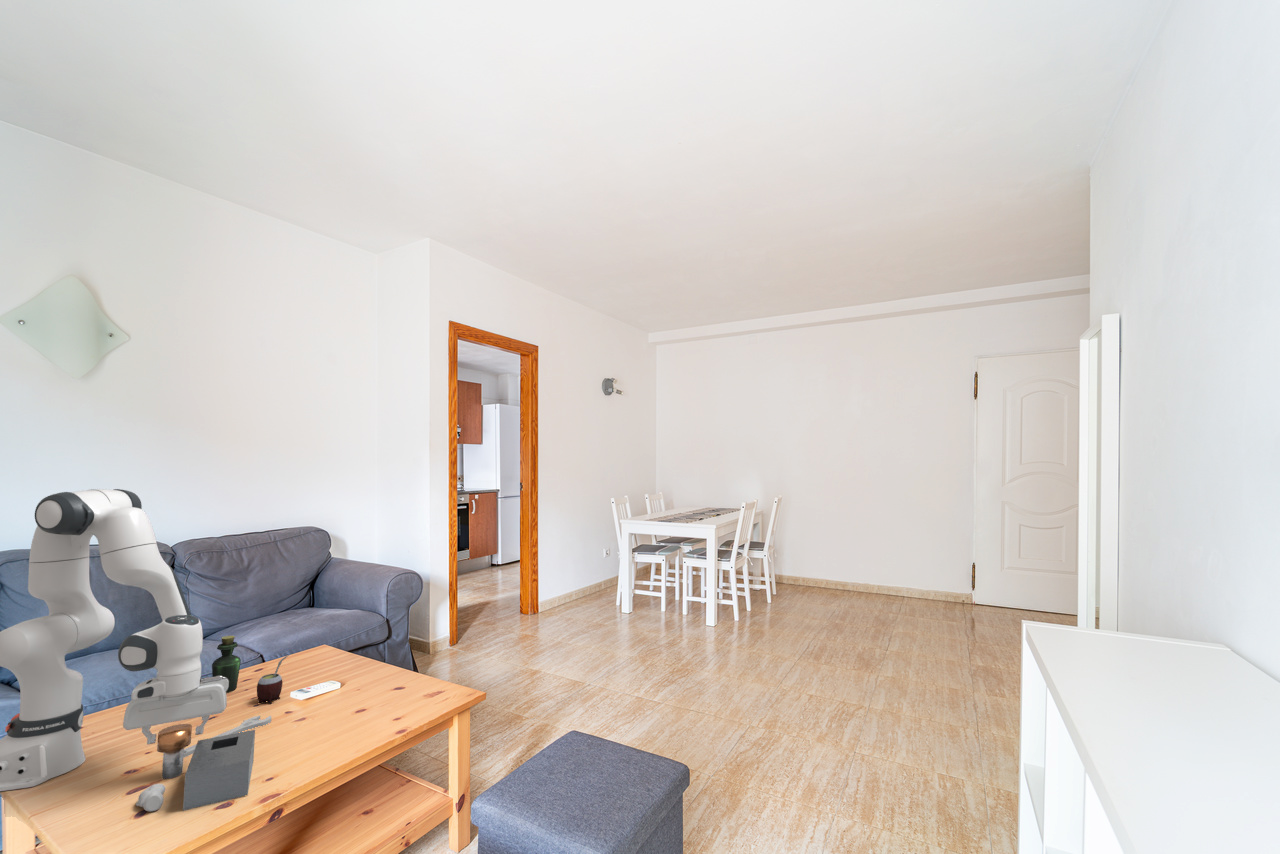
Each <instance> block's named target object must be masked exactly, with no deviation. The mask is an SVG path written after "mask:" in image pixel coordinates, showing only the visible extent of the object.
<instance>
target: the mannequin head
mask: <svg viewBox="0 0 1280 854" xmlns="http://www.w3.org/2000/svg"><path fill="white" fill-rule="evenodd" d="M165 792H166V785H164V784H163V783H154V784H152V785H150V786H148V787H146V788H145V789H144V790H143V791H142V792H140V793H139V795H138V799H137V801H136V803H135V806H137V807H140V808H143V809H144V810H145V811H146V812H151V813H152V812H157V811H158V810H160V809H161V807H162V806H163V805H164V794H165Z"/></svg>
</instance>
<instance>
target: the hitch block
mask: <svg viewBox="0 0 1280 854" xmlns="http://www.w3.org/2000/svg"><path fill="white" fill-rule="evenodd" d="M255 736H256V729H251V730H247V731H244V732H240V733H235V734H230V735H225V736H219V737H215V736H213V737H214V738H212V737H209V738H204V739H200V740H199V739H198V740H197V743H196V744H197V745H196V744H195V745H196V747H195V750H194V752H193V754H191V758H190V761H189V763H188V766H187V768H186V770H185V771H186V772H185V776H184V788H183V804H182V805H183V806H182V811H183V812H184V811H187V810H188V811H189V810H193V809H197V808H200V807H206V806H210V805H214V804H216V803H221V802H226V801H229V800H235V799H238V797H239V798H242V796H243V797H246V796H245V795H247V796H249V788H250V783H251V777H252V772H253V771H252V770H253V766H254V756H255V754H254V753H255V738H256V737H255Z"/></svg>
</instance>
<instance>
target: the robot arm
mask: <svg viewBox="0 0 1280 854" xmlns="http://www.w3.org/2000/svg"><path fill="white" fill-rule="evenodd" d="M142 508H143V507H142V501H141V499H140V497H139V496H138V495H137V494H136V493H135V492H132V491H130V490H126V489H120V488H115V489H107V488H106V489H103V488H102V489H100V488H97V489H95V488H93V489H92V488H91V489H87V490H77V491H62V492H57V493H53V494H50V495H47V496H45V497H44V498H42V499H41V500H40V501H39V503H37V505H36V507H35V510H34V521H35V523H36V525H37V526H36V528H35V530H34V533H33V536H32V537H33V538H32V541H31V543H30V545H31V546H30V551H29V559H28V560H29V563H28V579H27V580H28V583H27V584H28V585H27V591H28V593H29V594H30V595H31V596H32V597H33V598H36V599H38V600H42V601H44V603H45V604H46V606H47V607H48V614H47V615H44V616H39V617H36V618H32V619H31V618H30V619H28V620H24V621H21V622H18V623H16V624H14V625H11V626H8V627H7V628H4V629H3V630H0V667H2V668H5V669H7V670H9V671H10V672H11V673H12V674H13V675H14V676H15V677H16V680H17V682H18V685H19V690H20V697H19V698H20V699H19V701H20V703H19V713H17V714H15V715H14V716H13V717H11V719H10V721H9V722H8V723H7V725H6V726H5V731H4V732H5V733H6V735H5V736H3V737H2V738H0V792H5V791H13V790H18V789H19V790H21V789H25V788H31V787H32V788H33V787H36V786H38V785H40V784H43V783H45V782H46V781H48V780H51V779H53V778H56V777H58V776H61V775H64V774H66V773H68V772H70V771H73V770H74V769H76V768H78V767H80V766H81V765H82V764H83V763H85V761H86V755H85V752H84V748H83V744H82V736H81V735H82V734H81V732H82V731H81V729H82V726H83V722H84V705H83V704H82V699H83V688H84V687H83V686H84V677H83V675H82V674H81V673H80V672H79V671H78V670H74V669H70V668H68V667H67V665H66V659H65V657H66V655H68V654H71V653H74V652H78V651H81V650H83V649H87V648H89V647H92V646H94V645H95V644H97V643H100V642H101V641H103V640H106V638H108V637H109V636H110V635H111V634H112V632H113V631H114V628H115V621H116V620H115V616H114V614H113V612H112V611H111V610H110V609H109V608H107V607H105V606H104V605H102V604H101V603H99V602H98V600H97V599H96V597H95V596H94V593H93V592H92V588H91V583H90V553H91V552H90V541H91V539H92V537H93V536H94V537H95V538H96V540H97V543H98V548H99V549H98V550H99V555H100V563H101V567H102V570H103V572H104V573H105V575H106V577H107V578H108V579H110V580H111V581H113V582H115V583H117V584H120V585H123V586H129V587H130V586H131V587H136V588H140V589H143V590H146V591H147V592H149V593H150V594H151V595H152V596H153V598H154V602H155V603H156V606H157V610H158V612H159V615H160V617H161V622H160V623H158V624H157V625H154V626H152V627H150V628H147V629H144V630H141V631H137V632H135V633H133V634H131V635H129V636H127V637H126V638H124V639H123V641H122V642H121V643H120V645H119V648H118V652H117V658H118V662H119V665H120V666H121V667H122V668H123V669H124V670H127V671H129V672H139V671H140V672H142V671H145V670H151V669H155V670H156V676H155V677H153V678H149V679H147V680H145V681H141V682H140V683H139V684H137V685H136V686H135V687H134V688H133V690H132V692H131V695H130V698H131V700H130V701H129V703H128V704H127V706H126V708H125V712H124V717H123V722H122V727H123V728H124V729H125V731H132V730H136V729H141V733H142V734H143V735H144V737H145V738H146V739H147V740H146V745H152V744H155V743H156V742H157V733H152V731H151V730H150V729H151V728H152V726H159V725H164V724H169V723H175V722H181V721H186V720H190V719H197V718H201V721H202V722H201V724H200V725H196V727H195V736H198V735H203V733H204V732H205V731H204V728H205V727H204V726H205V725H206V724H207V722H208V721H209V719H210V716H212V715H218V714H222V713H223V712H224V711H225V710H226V709H227V703H228V698H227V693H226V691H227V690H228V687H229V680H228V679H227V678H226V677H222V676H216V677H212V676H209V677H202V662H201V654H202V652H203V643H204V642H203V641H204V635H203V634H204V633H203V626H202V622H201V621H200V618H198V617H196V616H194V615H192V613H191V611H190V608H189V606H188V603H187V600H186V598H185V597H186V596H185V595H184V592H183V590H182V587H181V584H180V582H179V579H178V577H177V575H176V572H175V571H174V570H175V569H173V568H172V567H171V566H170V565H169V564H168V563H166V562H165V560H164V559H163V557H162V555H161V553H160V550H159V548H158V544H157V539H156V534H155V530H154V529H153V525H152V522H151V521H150V518H149V516H148V515H147V513H146V512H145V510H143V509H142ZM222 678H223V679H222Z"/></svg>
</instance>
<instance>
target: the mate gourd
mask: <svg viewBox="0 0 1280 854" xmlns="http://www.w3.org/2000/svg"><path fill="white" fill-rule="evenodd" d="M289 656H290V655H289V654H287V655H286V656H284V657H283V658H281V659H280V660H279V662H278V664H277V667H276V670H275V672H274V673H269V674H265V675H263V676H261V677H260V678H259V680H258V682H257V685H256V697H257V700H258V701H257V704H258V703H261V704H263V703H262V702H265V703H268V705H272V704H273V701H272V700H274V701H277V699H278V700H281V693H282V688H283V678H282V676H281V674H279V673H278V671H279V669H280V666H281V664H282V662H283V661H284V660H286V658H288V657H289ZM266 701H268V702H266Z"/></svg>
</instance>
